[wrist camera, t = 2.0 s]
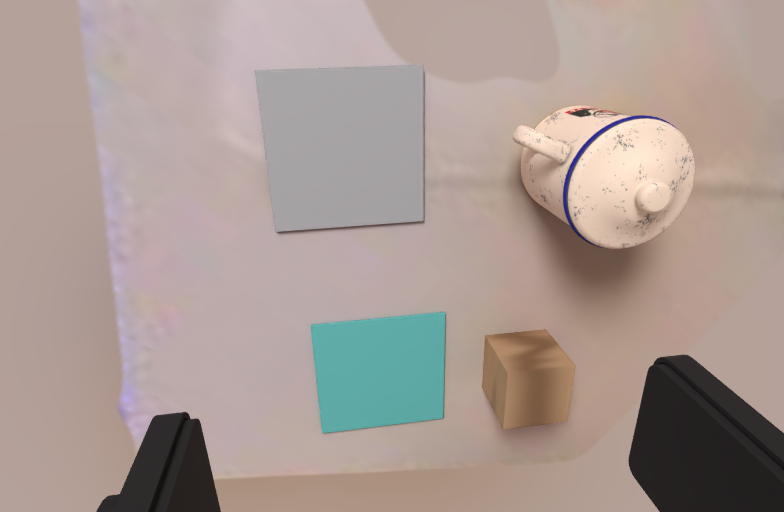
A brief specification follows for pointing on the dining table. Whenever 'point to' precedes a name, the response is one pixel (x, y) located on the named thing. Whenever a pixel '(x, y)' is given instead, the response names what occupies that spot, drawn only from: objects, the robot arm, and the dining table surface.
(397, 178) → the grey mat
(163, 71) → the dining table surface
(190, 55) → the dining table surface
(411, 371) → the teal mat
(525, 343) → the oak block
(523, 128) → the teacup with lid
